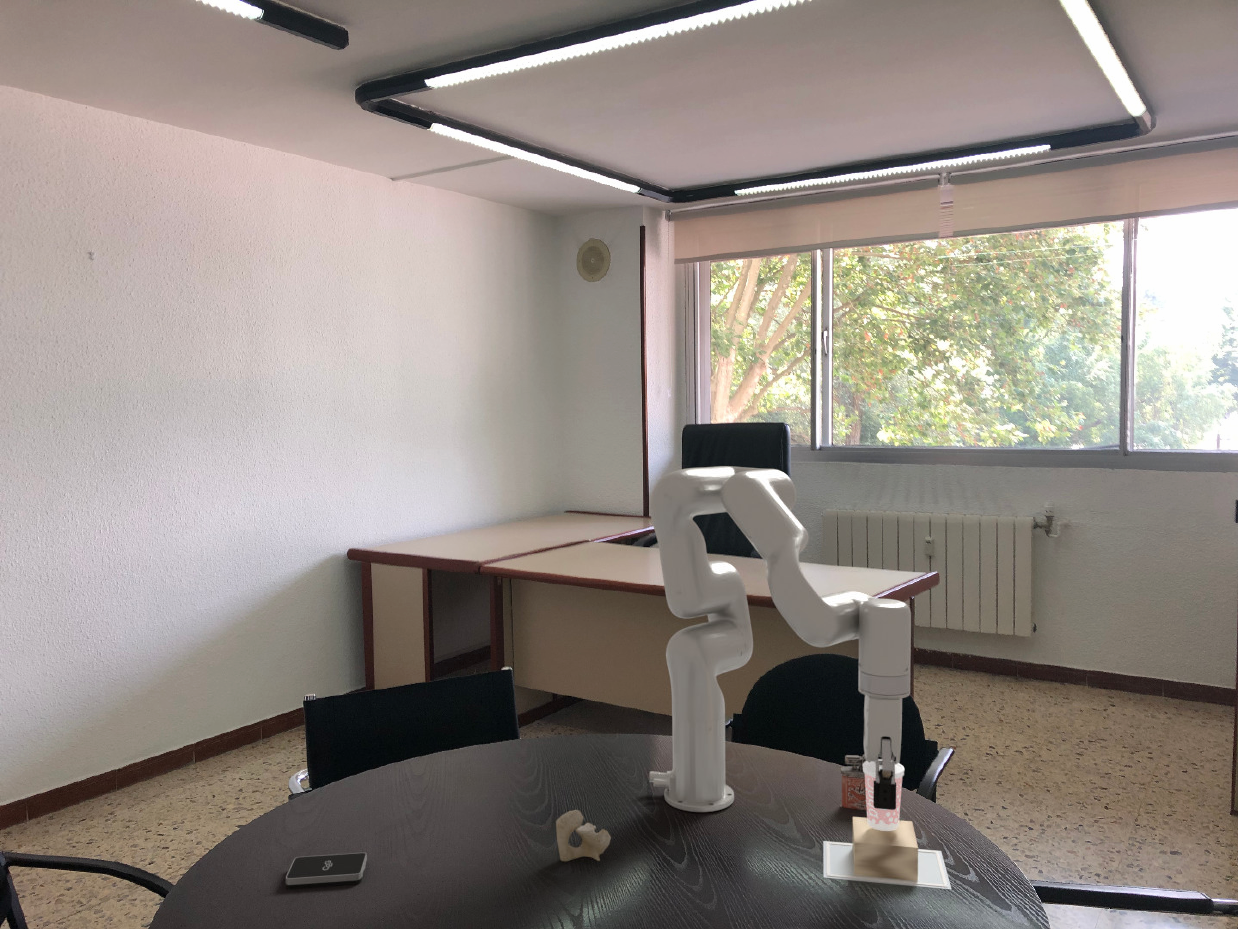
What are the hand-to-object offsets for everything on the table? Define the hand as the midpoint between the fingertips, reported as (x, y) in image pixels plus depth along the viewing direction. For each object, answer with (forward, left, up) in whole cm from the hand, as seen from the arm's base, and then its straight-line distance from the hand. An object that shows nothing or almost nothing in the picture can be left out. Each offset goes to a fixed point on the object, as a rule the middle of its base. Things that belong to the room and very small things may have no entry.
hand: (883, 797), depth 141 cm
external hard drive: (-83, -18, -12) cm, 86 cm away
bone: (-46, -4, -11) cm, 47 cm away
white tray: (0, 0, -11) cm, 11 cm away
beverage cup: (0, 0, -4) cm, 4 cm away
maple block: (0, 0, -10) cm, 10 cm away
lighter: (-2, +21, -11) cm, 24 cm away
